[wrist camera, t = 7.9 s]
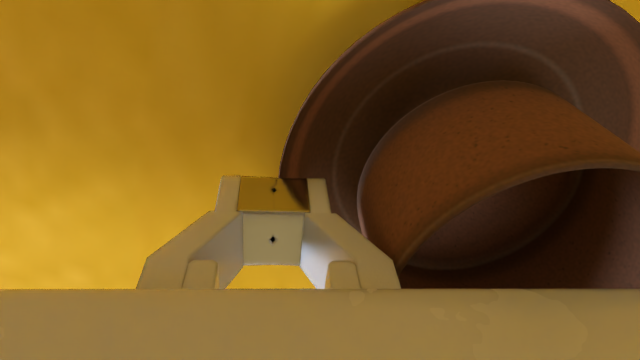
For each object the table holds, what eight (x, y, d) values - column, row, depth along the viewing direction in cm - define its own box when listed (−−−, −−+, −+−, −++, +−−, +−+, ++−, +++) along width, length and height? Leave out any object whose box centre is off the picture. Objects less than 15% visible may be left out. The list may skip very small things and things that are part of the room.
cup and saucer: (708, 13, 13) (994, 97, 8) (524, 286, 19) (613, 429, 14) (314, -78, 11) (350, -43, 6) (257, 265, 17) (249, 425, 12)
